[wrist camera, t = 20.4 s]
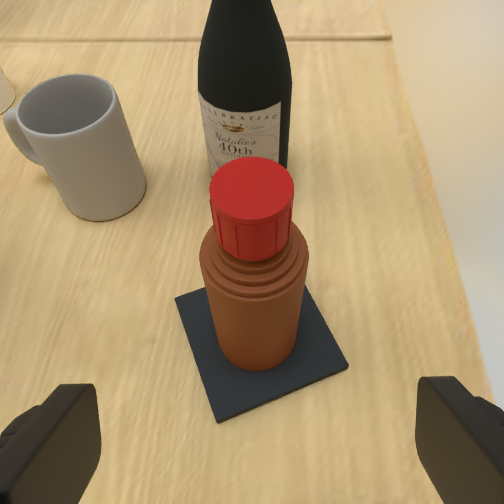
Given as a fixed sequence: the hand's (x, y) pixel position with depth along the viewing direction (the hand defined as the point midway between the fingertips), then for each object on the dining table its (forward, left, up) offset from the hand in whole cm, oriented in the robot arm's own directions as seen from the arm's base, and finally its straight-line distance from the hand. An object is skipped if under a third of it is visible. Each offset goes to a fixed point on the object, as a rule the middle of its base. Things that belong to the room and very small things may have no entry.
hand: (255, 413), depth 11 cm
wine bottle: (-10, -28, -23) cm, 37 cm away
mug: (+6, -33, -23) cm, 40 cm away
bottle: (-4, -10, -22) cm, 24 cm away
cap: (-4, -10, -8) cm, 14 cm away
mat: (-4, -11, -23) cm, 25 cm away
